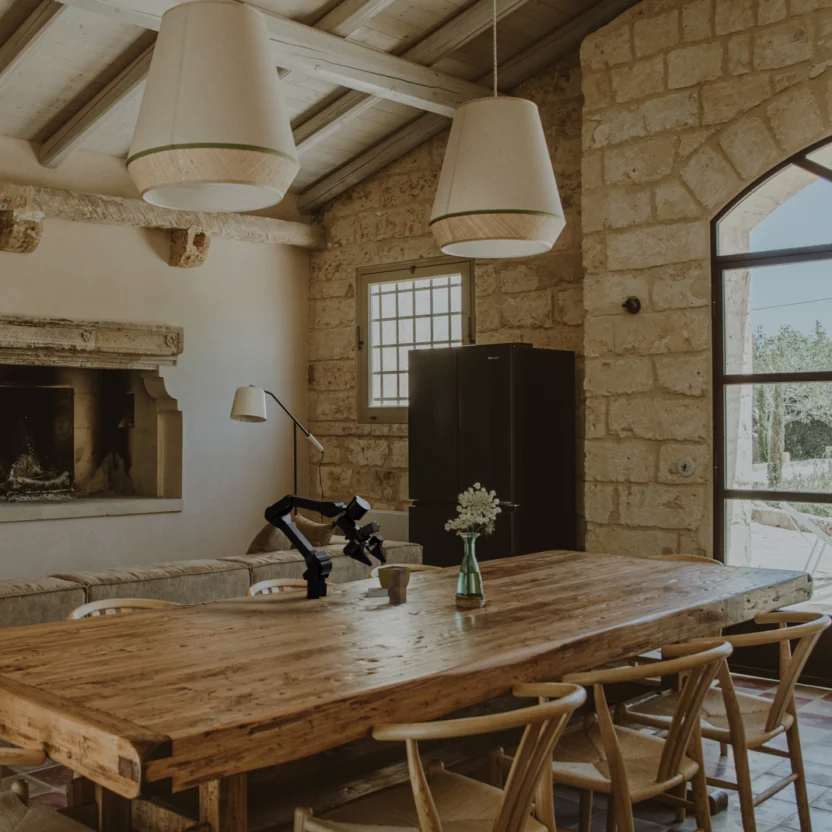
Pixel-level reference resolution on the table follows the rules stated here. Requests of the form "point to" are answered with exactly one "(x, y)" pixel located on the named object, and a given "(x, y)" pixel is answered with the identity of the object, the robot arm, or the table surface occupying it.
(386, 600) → the sage board
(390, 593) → the walnut post
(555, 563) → the table surface
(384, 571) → the flower pot
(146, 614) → the table surface
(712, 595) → the table surface
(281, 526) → the robot arm
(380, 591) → the grey metal block
